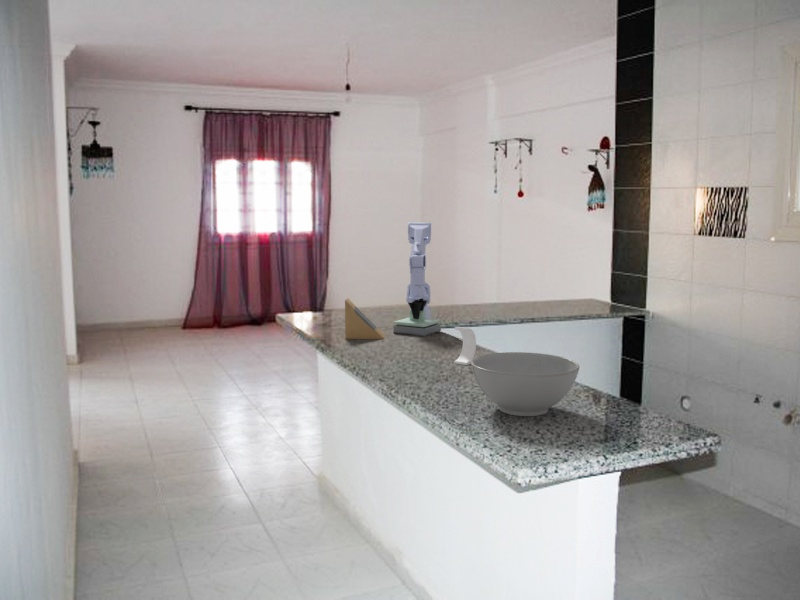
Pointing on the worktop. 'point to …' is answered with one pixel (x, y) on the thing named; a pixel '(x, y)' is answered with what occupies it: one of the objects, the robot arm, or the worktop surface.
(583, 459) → the worktop surface
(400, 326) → the tub
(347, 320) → the sandwich container
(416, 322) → the lid
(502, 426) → the worktop surface
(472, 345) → the headphone stand
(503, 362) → the decorative bowl
